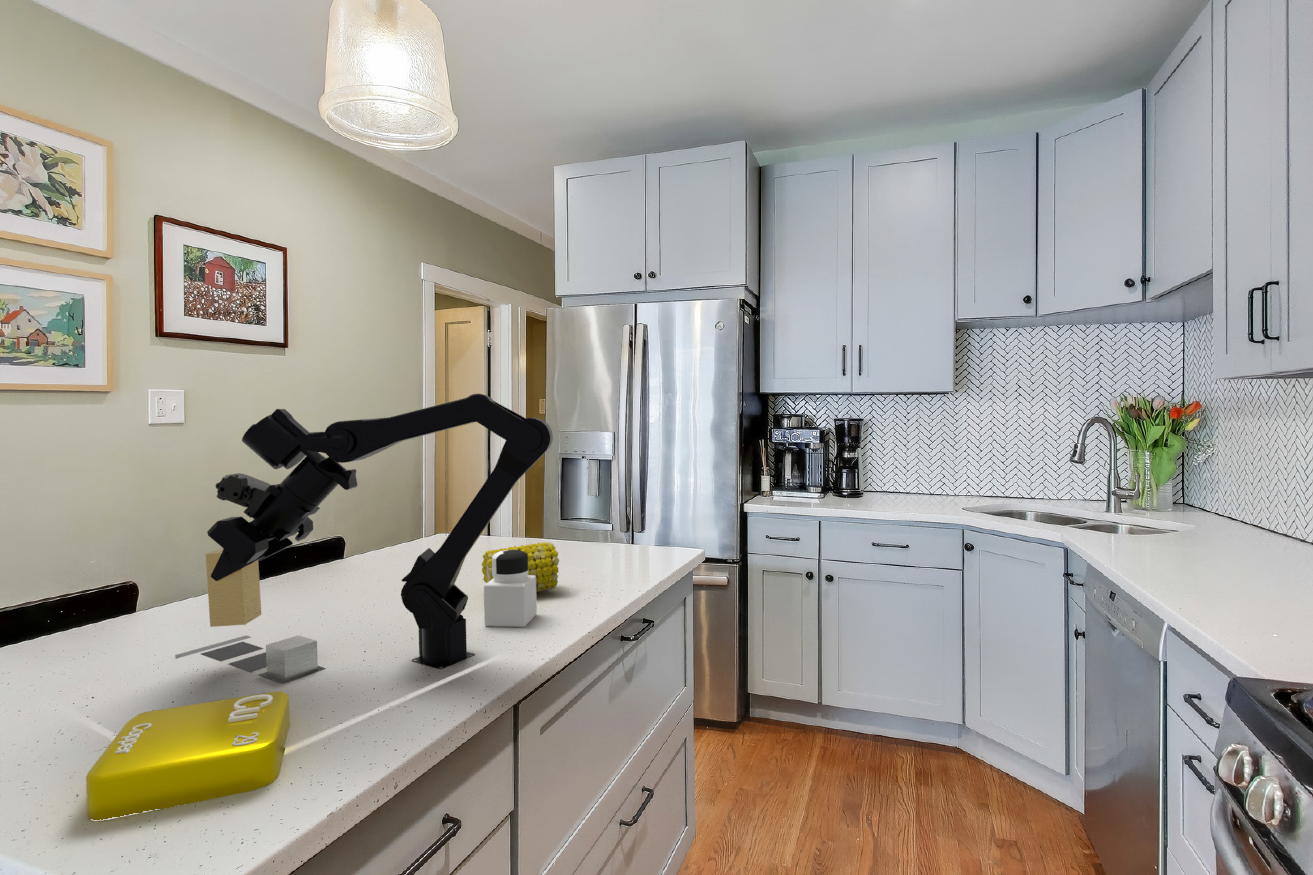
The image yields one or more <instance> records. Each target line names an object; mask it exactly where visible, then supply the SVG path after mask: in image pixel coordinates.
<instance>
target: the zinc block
mask: <svg viewBox="0 0 1313 875" xmlns="http://www.w3.org/2000/svg"><path fill="white" fill-rule="evenodd" d="M265 652H266V664H267V667H266V672H267V674H268V675H271V676H274V677H277V678H279V679H282V680H285V681H286V680H288V679H291V678H294V677H297V676H300V675H303V674H306V673H308V672H311V671H314V670H317V669H318V666H319V665H318V664H319V662H318V660H319V659H318V658H319V657H318V641H317V640H316V639H312V638H309V637H306V636H302V635H294V636H292V637H289V638H284V639H281V640H279V641H278V640H277V641H275V642H271V643H268V644H265Z"/></svg>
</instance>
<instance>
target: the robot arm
mask: <svg viewBox="0 0 1313 875" xmlns="http://www.w3.org/2000/svg"><path fill="white" fill-rule="evenodd" d="M474 423H477V424H479V425H481V426H483V427H484V428H486V429H488V430H489V431H491V432H492V433H493V434H495V435H497V436H498V437H500V438H502V439H503V440H505V442H504V444H503V446H502V448H501V450H500V451H501V452H500V453H499V456H498V459H497V462H496V464H495V466H494V468H493V470H492V472H491V473H490V474H489V476H488V477H487V479H486V480H485V481H484V483H483V485H482V486H481V488H480V489H479V491H478V492H477V494H475V496H474V498H473V499H472V501H471V502H470V504H469V505H468V507H467V508H466V509H465V511H464V512H463V514H462V516H461V517H460V518H459V520H458V521H457V523H456V525H455V526H454V527H453V529H452V530H451V532H450V533H449V534H448V536H447V537H446V538H445V540H444V542H443V543H442V544H441V545H440V547H439V549H437V551H435V552H434V551H433V550H432V549H431V548H430V547H428V548H427V549H425V551H423V552H422V553H421V554H419V555H418V556H417V558H416V559H415V561H414V564H413V566H412V568H411V570H410V572H409V573H407V574H406V575H405V576H404V577H403V578H402V579H401V582H403V583H404V585H402V588H401V592H400V597H401V601H402V604H403V606H404V608H405V609H407V611H409V612H410V613H411V614H412V615H413V618H414V620H415V623H416V625H417V628H418V655H419V656H418V657H416V658H413V659H411V660H410V661H411V662H412V663H416V664H419V665H423V666H426V667H430V668H434V669H437V670H443V669H446V668H448V667H450V666H453V665H455V664H458V663H460V662H463V661H465V660H468V659H469V658H472V657H474V656H476V654H475V653H473V652H468V651H467V619H466V618H464V615H462V612H463V611H465V609H466V606H467V603H468V600H469V596H468V595H467V594H466V593H465V592H464V591H463V590H461V589H460V588H459V586H457V585H456V584H455V583H456V581H457V578H458V577H459V574H460V572H461V569H462V567H463V563H464V562H465V559H466V558H467V555H468V554H469V553H470V551H471V549H472V548H473V546H475V544H476V542H477V541H478V539H479V538H480V536H481V535H482V533H483V532H484V531H485V529H486V528H487V527H488V525H489V524H490V522H491V520H492V519H493V517H494V516H495V514H496V513H497V511H498V510H499V508H500V507H501V505H502V504H503V503H504V501H505V500H506V498H507V497H508V495H509V494H510V492H511V491H512V490H513V488H514V486H515V485H516V483H517V482H518V481H519V480H520V479H521V478H522V476H524V475H525V474H526V473H527V472H528V471H529V469H531V467H533V465H535V463H536V462H538V461H539V460H540V459H541V457H542V456H544V454H546V452H547V451H548V450H549V449H550V448H551V446H552V443H553V440H554V438H553V437H554V435H553V430H552V428H551V427H550V425H549V424H548V423H547V422H546V421H545V420H543V419H540V418H537V417H527V418H526V417H525V416H522V415H520V414H518V413H517V412H515V411H513V410H511V409H510V408H509V407H506V406H504V405H502V404H500V403H498V402H497V401H495V400H493V398H491V397H490V396H488V395H487V394H483V393H473V394H470V395H468V396H467V397H464V398H461V399H460V398H459V399H456V400H452V401H448V402H444V403H441V404H437V405H434V406H428V407H425V408H420V409H416V410H413V411H410V412H409V411H408V412H406V413H401V414H397V415H393V416H390V417H389V416H388V417H378V418H377V417H376V418H364V419H363V418H362V419H352V420H341V421H340V420H338V421H335V422H333V423H331V424H329V425H328V426H327V427H326V429H325V431H312V432H309V431H308V429H306V428H305V427H304V426H303V425H302V424H300V423H299V422H298V421H297V420H296V419H295V418H294V417H293V415H292V414H291V413H290V412H289V411H287V409H285V408H276V409H275V410H274V411H273V412H272V413H271V414H269V415H267V416H265V417H263V418H262V419H260V420H259V421H258V422H256V423H253V424H252V425H251V426H249V428H247V430H246V431H245V433H244V434H243V435H242V438H241V442H242V443H243V444H245V445H246V446H247V447H248V448H249V449H250V450H251V451H252V452H254V453H255V454H256V455H257V456H259V458H261V459H262V460H263V461H264V462H265V463H266V464H268V465H269V466H270V468H272V469H274V470H279V469H281V468H284V469H286V470H290V469H292V468H294V469H292V471H291V472H289V474H287V476H285V478H284V479H283V480H282V481H281V482H280V483H278V484H277V483H276V484H271V483H268V482H266V481H264V480H261V479H258V478H257V477H253V476H251V475H248V474H245V473H241V472H239V473H231V474H226V475H224V476H223V477H222V478H221V480H220V481H219V482H217V483H215V489H216V492H217V495H216V498H217V499H219V500H221V501H228V502H231V503H233V504H235V505H239V506H241V507H243V508H245V509H244V510H243V513H244V514H245V515H246V516H247V517H248V518H250V519H251V518H252V520H251V521H248V520H246V518H244V516H231V517H230V516H229V517H227V518H222V519H220V520H219V519H218V520H217V521H216V522H215V523H214V524H213V525H212V526H210V528H209V529H208V530H207V532H206V534H207V536H208V537H209V538H210V539H212V541H214V542H215V543H216V544H218V545H219V546H220V547H221V548H224V549H223V551H222V553H221V555H220V558H219V560H218V562H217V564H216V566H215V568H214V570H213V572H212V574H211V578H213V579H214V580H215V581H218V580H220V579H222V578H224V577H226V576H228V575H230V574H232V573H234V572H236V571H238V570H240V569H242V568H244V567H246V566H248V565H250V564H252V563H254V562H256V561H258V563H259V562H260V561H262V560H265V559H267V558H269V557H270V556H272V555H273V556H274V555H275V554H277V553H278V552H281V551H283V550H285V549H287V548H289V547H291V546H292V545H293V544H294V543H293V541H292V540H290V539H289V538H290V537H292V536H295V537H294V540H295V541H296V542H300V541H302V540H304V539H306V538H307V537H308V536H309V535H310V533H312V532H313V531H314V521H313V520H312V519H311V518H310V517H309V516H311V515H314V514H316V513H317V512H319V510H320V507H319V506H320V505H321V504H322V502H323V501H324V500H326V498H327V497H328V496H330V494H331V493H332V492H333V491H334V490H335V489H336V488H337V487H338V486H340V487H341V488H343V490H345V491H346V490H347V491H348V490H352V489H354V488H357V487H358V481H357V480H358V479H357V469H356V468H353V469H346V467H344V466H343V465H342V464H343V463H351V462H356V461H361V460H362V461H363V460H364V459H368V458H370V457H372V456H374V455H376V454H378V453H381V452H383V451H386V450H387V449H389V448H391V447H393V446H395V445H397V444H399V443H401V442H404V441H408V440H412V439H415V438H420V437H424V436H427V435H432V434H435V433H439V432H442V431H446V430H450V429H454V428H458V427H462V426H466V425H469V424H474ZM321 453H323V454H325V455H326V456H327V457H325V456H323V455H322V454H321ZM294 466H296V467H294ZM297 533H298V534H297Z"/></svg>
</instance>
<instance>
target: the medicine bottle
mask: <svg viewBox="0 0 1313 875" xmlns="http://www.w3.org/2000/svg"><path fill="white" fill-rule="evenodd" d="M492 576H493V577H494V578H493V579H492V580H491V581H489V582H488V583H487V582H485V584H484V585H483V606H484V607H483V609H484V610H483V612H484V616H483V617H484V626H485V627H496V628H497V627H505V628H508V627H509V628H511V627H512V628H525V627H526V626H527V625H528V624H530V622H531V621H533V619H534V617H535V616H536V615H537V614H538V609H537V608H538V607H537V605H538V604H537V591H536V576H535V575H528V554H527V553H526V552H523V551H521V550H504V551H500V552H497V553H496V554H494V555H493V556H492Z"/></svg>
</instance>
